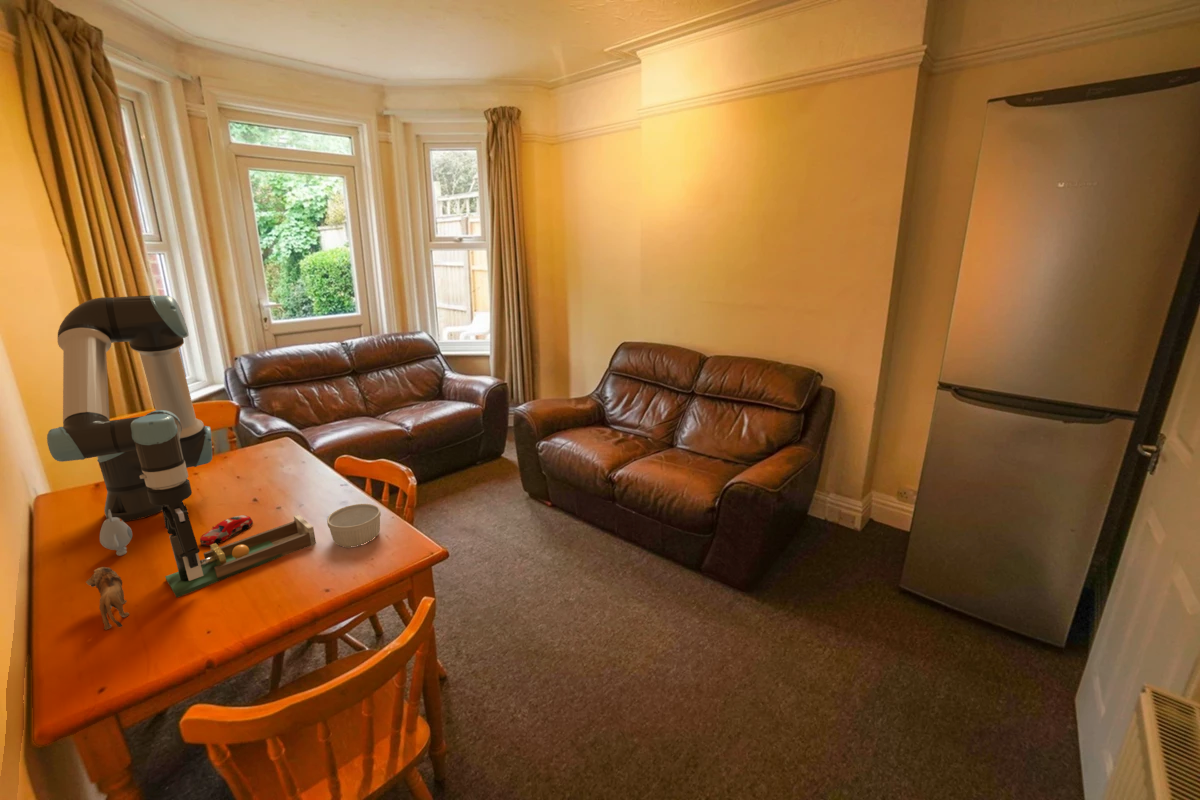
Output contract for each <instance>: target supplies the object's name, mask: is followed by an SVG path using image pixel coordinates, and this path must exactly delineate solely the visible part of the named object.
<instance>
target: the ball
mask: <svg viewBox="0 0 1200 800" xmlns="http://www.w3.org/2000/svg"><path fill="white" fill-rule="evenodd" d="M248 554H249V548H248V547H247V546H246V545H238V546H236V547H235V548H234V549H233V551H232V556H233V557H234V558H235V559H237V558H240V557H243V556H245V555H248Z"/></svg>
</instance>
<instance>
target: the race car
mask: <svg viewBox="0 0 1200 800" xmlns="http://www.w3.org/2000/svg"><path fill="white" fill-rule="evenodd" d="M253 524H254V522H253V519H252V518H251V516H248V515H244V514H243V515H236V516H232V517H228V518H227V519H226V518H225V519H224V520H222V521H220V522H218V523H217V524H215V526H212V528H211V529H210V530H209V531H207V532H206V533H204V534H202V535H201V536H200V538H199V543H200V545H201V546H205V547H210V545H212V544H215V543H216V544H217V545H219V544H221V543H222V542H224V541H226V540H228V539H231V538H232V537H234V536H235V535H238V534H240V533H242V532H245V531H246V530H248V529H249V528H251V527H252V526H253Z"/></svg>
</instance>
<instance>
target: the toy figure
mask: <svg viewBox="0 0 1200 800" xmlns="http://www.w3.org/2000/svg"><path fill="white" fill-rule="evenodd" d="M108 517H109V519H107V518H106V519H105V520H104V521H103V523H102V524H101V528H100V531H99V543H100V544H101V545H102V547H103V548H105V549H108V550H111V551H116V552H115V554H116V555H117V556H120V557H121V556H124V555H126V554H127V553H128V550H127V549H128V547H127V545H128V544H130V542H131V540H132V538H133V531H132V528H131V526H129V525H128V524H127V523H126V521H122V519H119V518H117V517H112V514H111V511H110V510H108Z"/></svg>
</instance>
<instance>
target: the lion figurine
mask: <svg viewBox="0 0 1200 800" xmlns="http://www.w3.org/2000/svg"><path fill="white" fill-rule="evenodd" d="M85 584H86V585H88V586H91V588H93V587H94V588H95V587H96V589H97V590H98V593H99V594H100V598H99V611H100V615H101V618H102V624H104V627H103V629H104V630H105V631H107V630H110V629H111V628H112V624H110V621H109V619H110V620H111V621H112V622H113V623H114V624H115V625H116V627H117V628H122V627H123V624H122V623H121V622H119V621H118V620H117V619H116V618H115V616H114V615H113V612H112V610H111V609H112V608H115V610H117V611H118V615H119V616H121V618H127V617H128V616H129V615H130V613H129V612H128V611H124V606H123V605H124V604H126V603H127V602H128V601H127V600H126V599H125V593H124V589H123V580H122V577H121V576H119V574H118V573H117V572H116V571H115V570H113V569H112V568H111V567H106V566H101V567H97V568H96V569H94V570H93V574H92V575H91V577H89V578H88V579H87V580H86V581H85ZM108 616H109V618H108Z"/></svg>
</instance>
